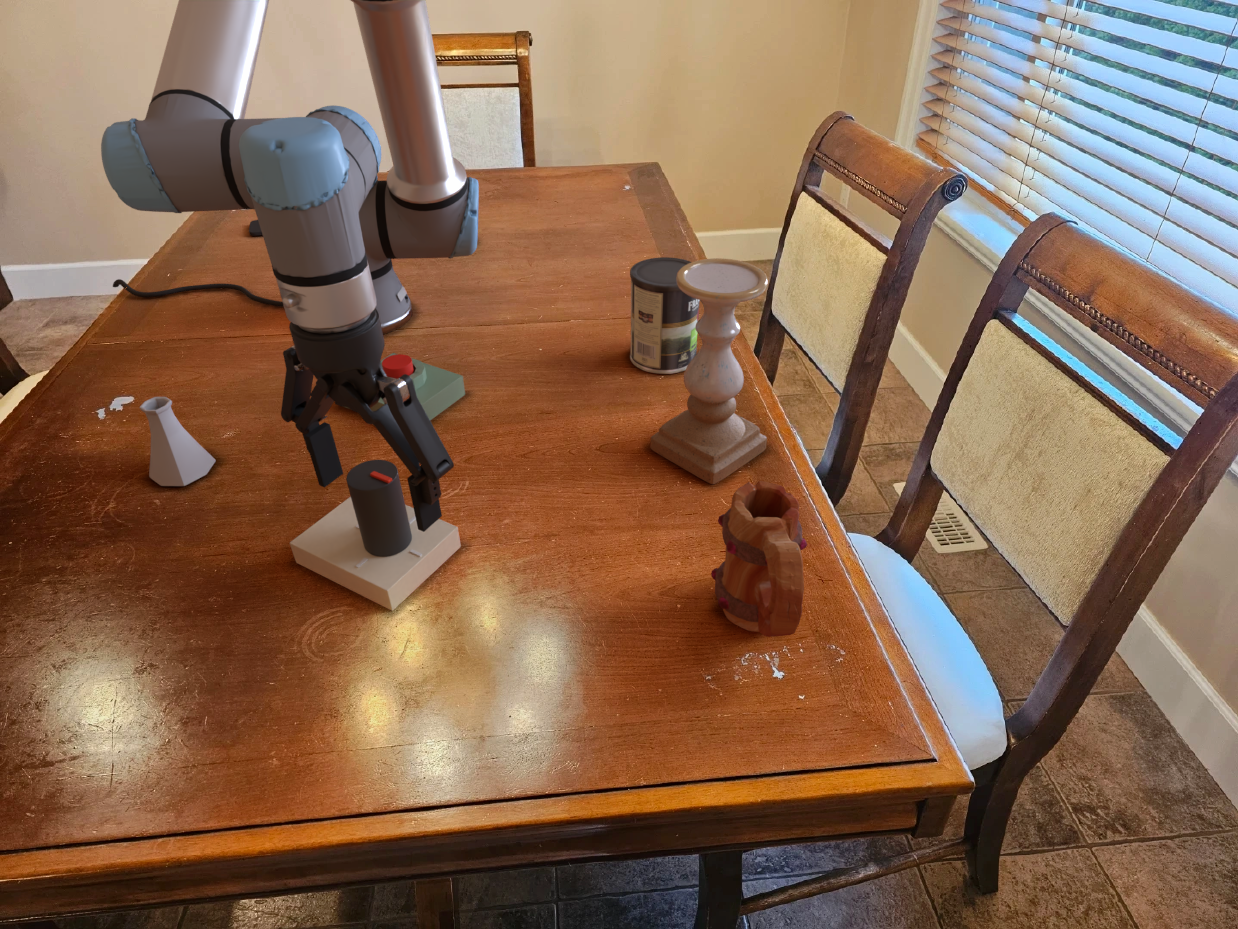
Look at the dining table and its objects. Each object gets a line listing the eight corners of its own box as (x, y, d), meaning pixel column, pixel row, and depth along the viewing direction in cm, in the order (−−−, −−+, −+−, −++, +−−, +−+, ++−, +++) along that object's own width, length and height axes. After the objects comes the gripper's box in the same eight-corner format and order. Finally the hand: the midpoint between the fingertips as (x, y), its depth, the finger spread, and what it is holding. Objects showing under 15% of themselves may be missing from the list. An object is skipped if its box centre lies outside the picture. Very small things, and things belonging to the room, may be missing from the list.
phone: (326, 225, 163) (248, 233, 159) (327, 229, 164) (249, 237, 160) (325, 213, 169) (250, 220, 165) (326, 217, 169) (251, 224, 166)
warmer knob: (354, 546, 84) (334, 478, 78) (386, 519, 88) (370, 451, 82) (389, 563, 82) (372, 493, 76) (421, 534, 86) (407, 466, 80)
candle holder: (703, 415, 109) (715, 248, 95) (767, 448, 103) (791, 275, 88) (648, 448, 103) (652, 275, 89) (713, 486, 97) (729, 307, 82)
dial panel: (295, 562, 87) (288, 541, 85) (368, 506, 94) (363, 485, 92) (392, 611, 81) (386, 589, 79) (461, 546, 88) (457, 525, 87)
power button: (378, 375, 109) (375, 364, 108) (398, 362, 112) (396, 351, 111) (400, 382, 107) (397, 371, 106) (419, 369, 110) (417, 358, 109)
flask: (227, 459, 101) (202, 393, 95) (185, 493, 96) (156, 425, 90) (182, 448, 103) (154, 382, 97) (138, 481, 98) (106, 414, 92)
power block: (342, 406, 111) (334, 375, 108) (396, 371, 119) (391, 341, 116) (413, 433, 106) (407, 401, 103) (465, 394, 113) (461, 364, 110)
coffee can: (700, 344, 125) (706, 259, 116) (691, 378, 117) (697, 289, 108) (636, 338, 127) (637, 253, 118) (623, 370, 119) (623, 282, 110)
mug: (703, 577, 85) (714, 466, 75) (779, 573, 85) (798, 461, 76) (730, 692, 73) (746, 577, 64) (817, 686, 74) (845, 570, 64)
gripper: (200, 298, 71) (266, 481, 84) (413, 371, 61) (450, 566, 74) (268, 267, 76) (319, 445, 89) (474, 330, 66) (498, 519, 79)
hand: (379, 500), depth 82 cm, fingers open, 13 cm apart
